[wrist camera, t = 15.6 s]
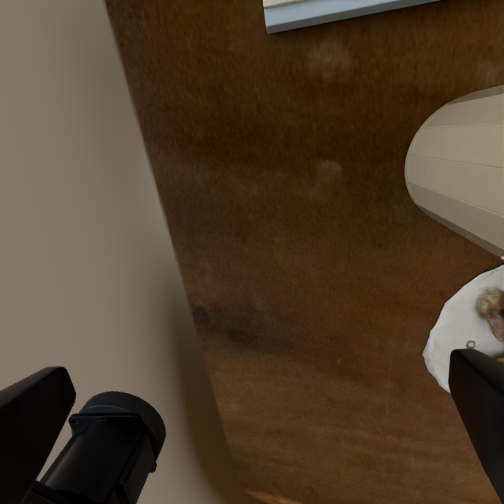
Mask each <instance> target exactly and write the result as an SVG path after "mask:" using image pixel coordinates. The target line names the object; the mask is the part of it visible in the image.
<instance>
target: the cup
mask: <svg viewBox="0 0 504 504" xmlns="http://www.w3.org/2000/svg"><path fill="white" fill-rule="evenodd" d="M405 180H406V185H407V189H408V192H409V194H410V196H411V198H412V199H413V201H414V203H415V204H416V205H417V206H418V207H419V208H420V209H421V210H422V211H423V212H424V213H426V214H427V215H429V216H430V217H431V218H432V219H433V220H435V221H437V222H439V223H440V224H442V225H444V226H446V227H447V228H449V229H451V230H453V231H454V232H456V233H458V234H460V235H461V236H463V237H465V238H467V239H468V240H470V241H472V242H474V243H475V244H477V245H479V246H480V247H482V248H484V249H486V250H487V251H489V252H491V253H493V254H494V255H496V256H498V257H500V258H501V259H503V260H504V85H500V86H496V87H492V88H488V89H484V90H479V91H475V92H472V93H470V94H468V95H465V96H462V97H459V98H457V99H455V100H453V101H451V102H449V103H447V104H445V105H444V106H442V107H441V108H440V109H438V110H437V111H436V112H435V113H433V114H432V115H431V116H430V117H429V118H428V119H427V120H426V121H425V122H424V124H423V125H422V126H421V127H420V129H419V130H418V132H417V133H416V135H415V137H414V138H413V140H412V142H411V145H410V147H409V150H408V153H407V157H406V162H405Z"/></svg>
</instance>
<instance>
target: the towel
mask: <svg viewBox="0 0 504 504" xmlns="http://www.w3.org/2000/svg"><path fill="white" fill-rule="evenodd" d="M434 1H439V0H263V6H264V13H265V22H266V29H267V33H268V34H271V33H276V32H281V31H286V30H291V29H296V28H301V27H307V26H312V25H317V24H322V23H327V22H332V21H337V20H342V19H347V18H352V17H357V16H363V15H368V14H373V13H378V12H383V11H388V10H393V9H398V8H403V7H408V6H414V5H419V4H424V3H429V2H434Z"/></svg>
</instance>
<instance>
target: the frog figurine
mask: <svg viewBox="0 0 504 504" xmlns="http://www.w3.org/2000/svg"><path fill="white" fill-rule="evenodd" d="M490 347H491V348H490ZM467 348H473V349H476V350H478V351H480V352H482V353H484V354H486V355H488V356H490V357H492V358H494V359H496V360H498V361H500V362H502V363H504V265H502V266H500V267H498V268H495V269H493V270H491V271H488V272H485V273H483V274H480V275H479V276H477V277H476V278H474V279H473V280H472V281H471V282H469V283H467V284H466V285H464V286H463V287H462V288H461V289H460V290H459V291H458V292H457V293H456V294H455V295H454V296H453V297H452V298H451V299H449V300H448V301H447V302H446V303H445V306H444V307H443V309H442V311H441V314H440V317H439V320H438V321H437V323H436V325H435V327H434V328H433V329H432V330H431V331H430V337H429V339H428V341H427V345H426V347H425V349H424V351H423V354H422V355H423V357H424V360H425V364H426V367H427V368H428V371H429V372H430V373H431V374H432V375H433V376H434V377H435V378H436V380H437V381H438V384H439V385H440V386H441V387H442V388H444V389H445V390H446V391H447V392H449V393H450V390H449V385H448V375H449V362H450V354H451V351H452V350H454V349H467Z"/></svg>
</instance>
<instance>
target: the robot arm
mask: <svg viewBox="0 0 504 504" xmlns="http://www.w3.org/2000/svg"><path fill="white" fill-rule="evenodd" d="M448 385H449V390H450V393H451V395H452V398H453V400H454V402H455V404H456V407H457V409H458V411H459V414H460V416H461V418H462V421H463V423H464V425H465V428H466V430H467V432H468V435H469V437H470V439H471V441H472V444H473V446H474V448H475V451H476V453H477V455H478V457H479V460H480V462H481V464H482V466H483V468H484V470H485V472H486V474H487V476H488V478H489V480H490V482H491V484H492V485H493V487H494V489H495V491H496V493H497V495H498V496H499V498H500V500H501V502H502V504H504V363H502V362H500V361H498V360H496V359H494V358H492V357H490V356H488V355H486V354H484V353H482V352H480V351H478V350H476V349H473V348H467V349H454V350H452V351H451V354H450V362H449V375H448ZM75 399H76V392H75V389H74V387H73V384H72V381H71V379H70V376H69V374H68V371H67V369H65V368H64V367H61V366H57V367H47V368H44V369H42V370H40V371H38V372H36V373H35V374H33V375H30V376H29V377H27V378H25V379H23V380H21V381H19V382H17V383H15V384H13V385H11V386H9V387H7V388H5V389H3V390H1V391H0V504H136V503H137V500H138V498H139V496H140V493H141V491H142V489H143V486H144V484H145V481H146V479H147V476H148V474H149V473H152V472H155V470H156V467H157V463H156V460H155V456H154V452H153V449H152V446H151V443H150V440H149V437H148V435H147V432H146V429H145V425H144V422H143V419H142V416H141V415H140V414H139V413H136V412H123V413H76V414H72V415H71V417H70V418H69V424H70V426H71V429H72V431H73V433H74V434H73V436H72V437H71V439H70V440H69V441H68V443H67V444H66V446H65V447H64V449H63V450H62V451H61V452H60V454H59V455H58V457H57V458H56V459H55V461H54V462H53V464H52V465H51V466H50V468H49V469H48V470H47V472H46V473H45V475H44V476H43V477H42V479H41V480H40V482H39V481H37V480H36V479H37V477H38V475H39V473H40V472H41V470H42V468H43V466H44V464H45V462H46V460H47V458H48V456H49V454H50V452H51V450H52V448H53V446H54V444H55V442H56V440H57V438H58V436H59V434H60V431H61V430H62V428H63V425H64V423H65V421H66V419H67V417H68V415H69V413H70V411H71V409H72V407H73V405H74V403H75Z"/></svg>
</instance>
